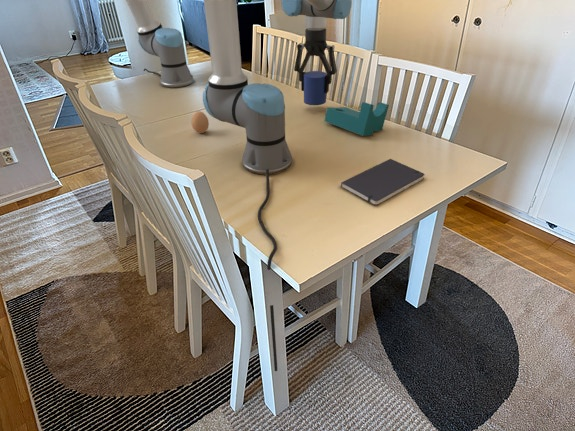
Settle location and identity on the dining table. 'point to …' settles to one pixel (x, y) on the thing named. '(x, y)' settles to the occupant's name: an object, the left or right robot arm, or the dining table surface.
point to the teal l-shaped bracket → (358, 118)
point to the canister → (314, 88)
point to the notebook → (382, 181)
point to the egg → (199, 122)
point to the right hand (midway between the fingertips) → (315, 90)
